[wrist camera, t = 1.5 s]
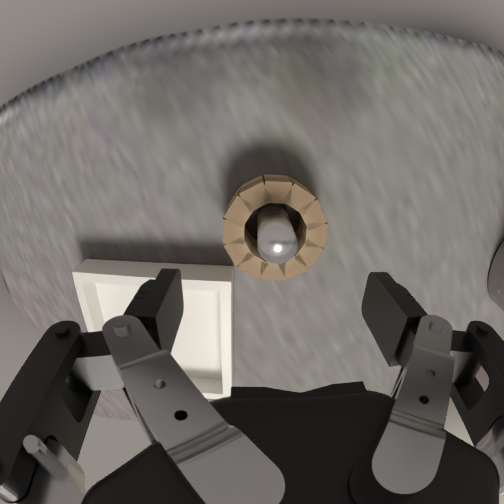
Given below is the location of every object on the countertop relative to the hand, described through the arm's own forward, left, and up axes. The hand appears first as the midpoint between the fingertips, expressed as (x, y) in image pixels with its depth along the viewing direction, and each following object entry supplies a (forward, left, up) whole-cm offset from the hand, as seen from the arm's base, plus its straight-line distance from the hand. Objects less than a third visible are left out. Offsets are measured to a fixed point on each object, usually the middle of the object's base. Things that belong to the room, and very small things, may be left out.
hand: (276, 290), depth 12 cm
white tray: (+9, +10, -9) cm, 16 cm away
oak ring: (0, 0, -10) cm, 9 cm away
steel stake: (0, 0, -10) cm, 9 cm away
